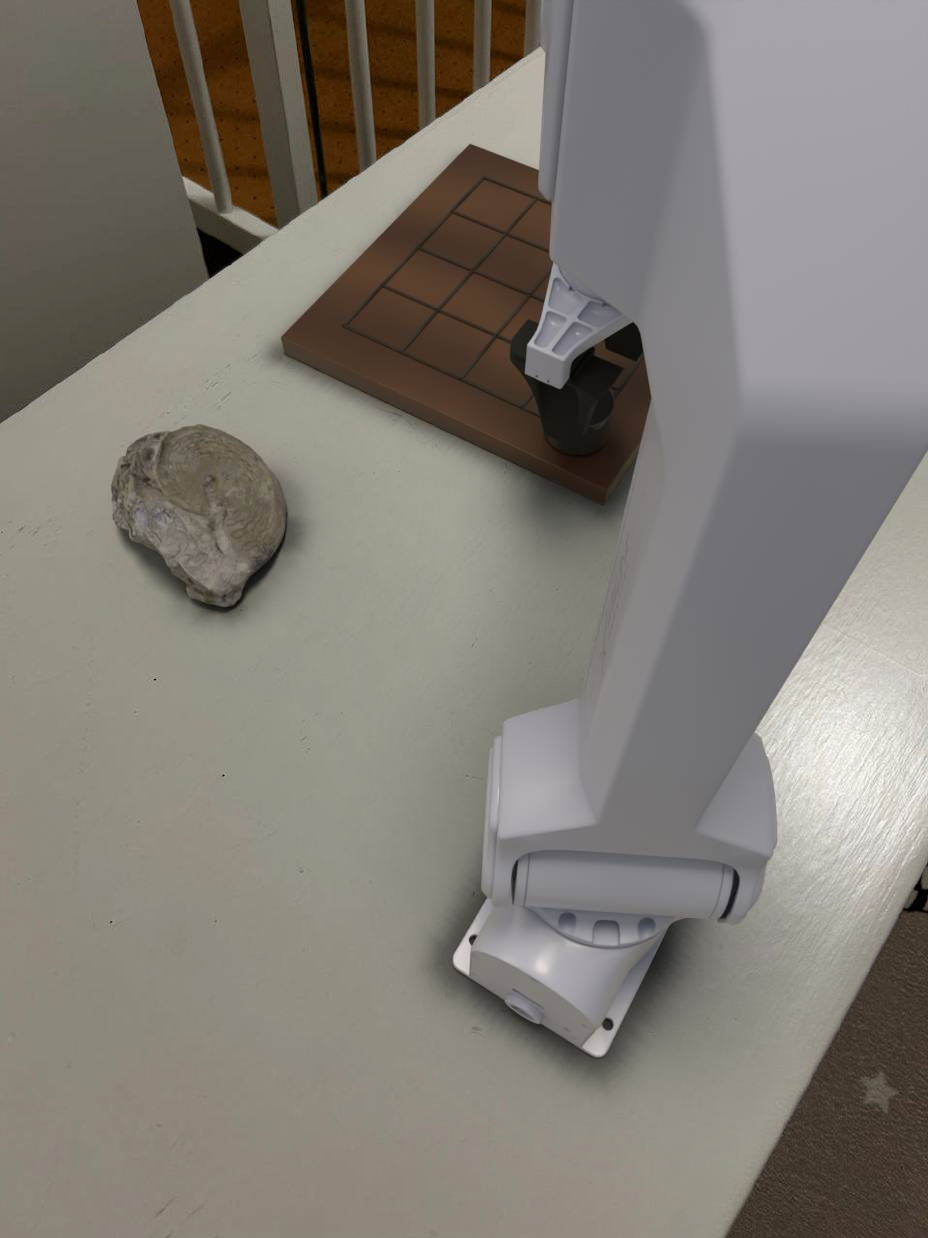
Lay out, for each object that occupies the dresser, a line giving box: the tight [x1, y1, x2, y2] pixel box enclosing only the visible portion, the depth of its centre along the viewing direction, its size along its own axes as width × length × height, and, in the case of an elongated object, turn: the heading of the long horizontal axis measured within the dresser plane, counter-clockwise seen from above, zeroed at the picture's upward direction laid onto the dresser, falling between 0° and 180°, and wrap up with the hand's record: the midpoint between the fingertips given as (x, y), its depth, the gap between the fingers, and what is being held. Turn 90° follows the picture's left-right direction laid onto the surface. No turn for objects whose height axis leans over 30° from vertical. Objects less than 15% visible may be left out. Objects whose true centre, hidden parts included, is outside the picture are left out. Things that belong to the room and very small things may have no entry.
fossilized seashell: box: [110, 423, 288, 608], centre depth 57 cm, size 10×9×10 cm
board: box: [280, 143, 651, 506], centre depth 66 cm, size 24×24×2 cm
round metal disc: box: [544, 390, 615, 455], centre depth 58 cm, size 4×4×3 cm
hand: (593, 392), depth 56 cm, fingers open, 7 cm apart
